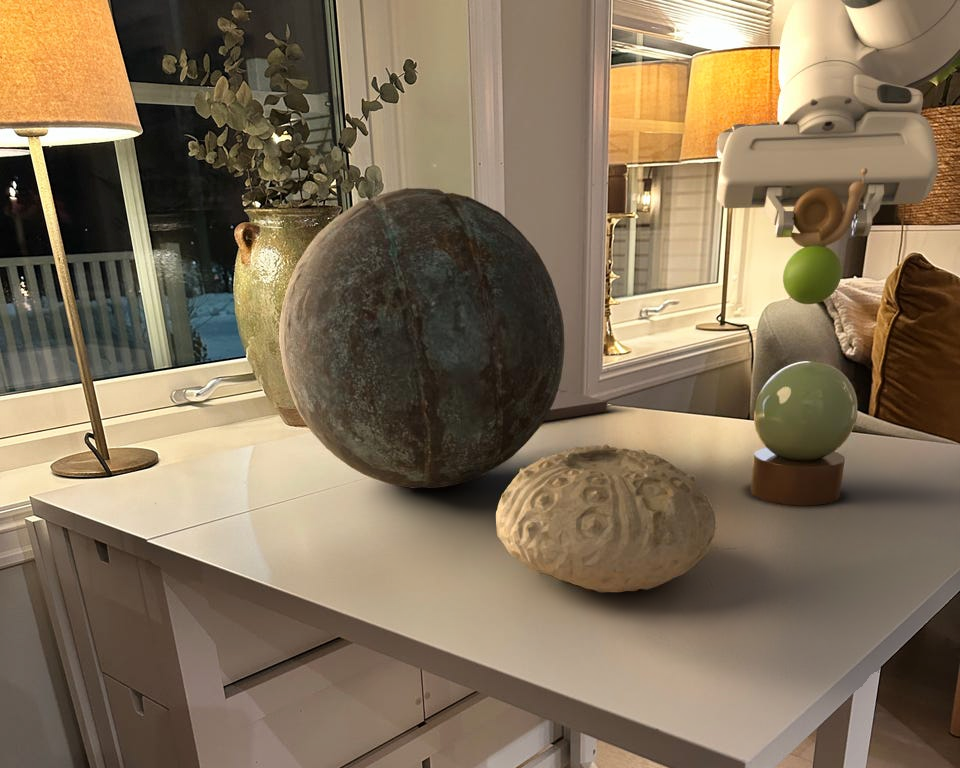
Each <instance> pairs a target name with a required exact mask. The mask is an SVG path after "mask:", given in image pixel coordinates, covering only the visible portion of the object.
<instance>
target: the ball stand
mask: <svg viewBox="0 0 960 768" xmlns="http://www.w3.org/2000/svg"><path fill="white" fill-rule="evenodd" d="M858 404H859V403H858V398H857V393H856V390H855V388H854V385H853V384H852V382H851V381H850V380H849V378H848V377H847V375H845V374H844V373H843V371H841V370H839V369H838V368H837V367H835V366H833V365H831V364H828V363H825V362H823V361H822V362H821V361H814V360H806V361H797V362H795V363H791V364H788V365H786V366H784V367H783V368H781V369H779V370H777V371H776V372H775V373H774V374H773V375H771V376H770V377H769V378H768V380H766V382H765V383H764V384H763V386H762V387H761V389H760V390H759V392H758V395H757V397H756V400H755V404H754V409H753V424H754V428H755V431H756V433H757V436H758V438H759V440H760V442H761V443H762V444H763V446H764V447H763V448H760V449H758V450H756V451H754V454H753V463H752V472H751V473H752V474H751V482H750V493H751V495H753V497H756V498H757V499H760V500H764V501H766V502H769V503H770V502H771V503H774V504H780V505H788V506H820V505H826V504H831V503H833V502H835V501H837V500H839V498H840V495H841V490H842V489H841V488H842V482H843V475H844V470H845V464H846V463H845V462H846V457H845V456H844V455H843V454H841V453H839V452H837V450H838V449H840V447H841V446H843V444H845V442H846V441H847V440H848V439H849V437H850V435H851V433H852V432H853V430H854V428H855V425H856V422H857V419H858V409H859V406H858Z"/></svg>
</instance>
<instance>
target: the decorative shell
mask: <svg viewBox="0 0 960 768" xmlns="http://www.w3.org/2000/svg"><path fill="white" fill-rule="evenodd" d="M695 479H696V477H695V475H694V474H692V473H691V474H689V475H688V474H687V473H686V472H684V471H683V470H681V469H680V468H679V467H677V466H675V465H674V464H673V463H672V462H670V461H668V460H666V459H665V458H663V457H661V456H659V455H656V454H653V453H648V452H647V451H646V450H644V449H642V450H640V451H637V450H631V449H628V448H617V447H615V446H610V445H608V444H607V443H606V444H604V445H602V446H600V445H588V446H587V445H586V446H583V447H580V446H575V447H574V448H573V449H570V450H569V449H566V450H563V451H562V452H557V453H555V454H552V455H550V456H541V458H540V459H539V460H537V461H535V462H533V463H531V464H529V465H528V466H526V467H521V468H520V469H519V473H518V474H516V476H515V477H514V478H512V481H511V482H510V484H509V485H508V486H507V487H506V489H505V490H504V492H502V494H501V497H500V499H499V502H498V505H497V510H496V512H495V522H496V523H495V525H496V536H497V537H498V539H500V541H501V542H502V543H503V545H504V547H505V548H506V551H508V553H509V554H510V555H511V556H512V557H513V558H515V559H516V560H518V562H520V563H521V564H524V566H526V567H527V568H530V569H531V570H532V571H534V572H537V573H539V574H542V575H543V574H544V575H549V576H551V577H553V578H555V579H557V580H559V581H564V582H567V583H571V584H572V585H575V586H576V585H577V586H579V587H580V588H583V589H585V590H593V591H596V592H597V593H622V592H623V593H624V592H627V591H628V592H637V591H638V590H640V589H641V590H645V591H647V590H650V589H653V588H656V587H658V586H660V585H663V584H665V583H667V582H669V581H671V580H672V579H675V578H677V577H681V576H682V575H684V574H686V573H687V572H688V571H689V570H691V569H692V568H693V567H694V566H696V564H697V563H698V562H699V561H700V560H701V559H702V558H703V557H704V556H705V555H706V554H707V553H708V551H709V548H710V546H711V545H712V542H713V540H714V538H715V534H716V515H715V511H714V509H713V506H712V503H711V501H710V499H709V496H708V495H706V494H705V493H704V490H703V489H702V488H701V487H700V486H699V485H698V484H697V483H696V480H695Z"/></svg>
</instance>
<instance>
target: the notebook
mask: <svg viewBox="0 0 960 768" xmlns="http://www.w3.org/2000/svg"><path fill="white" fill-rule="evenodd" d="M607 411H608V401H607V400H604V399H599V398H595V397H591V396H588V395H583V394H579V393H575V392H571V391H568V390H564V389H559V388H558V391H557V394H556V397H555V400H554V402H553V405H552V407H551V409H550V410H549V412H548V414H547V416H546V418H545V419H544V421H543V422H547V421H548V422H549V421H555V420H561V419H567V418H575V417H581V416H586V415H593V414H600V413H605V412H607Z"/></svg>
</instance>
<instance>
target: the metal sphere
mask: <svg viewBox="0 0 960 768" xmlns="http://www.w3.org/2000/svg"><path fill="white" fill-rule="evenodd" d="M557 295H558V294H557V292H556V287H555V285H554V282H553V279H552V277H551V275H550V273H549V271H548V268H547V266H546V265H545V263H544V261H543V259H542V258H541V255H540V254H539V253H538V251H537V249H536V248H535V247H534V246H533V244H532V243H531V242H530V241H529V240H528V238H527V237H526V236H525V235H524V234H523V232H521V231H520V229H518V228H517V227H516V226H515V225H514V224H513V223H512V222H511V221H510V220H509V219H508V218H506V217H505V216H504V215H503V214H502V213H501V212H500V211H498V210H495V209H493V208H492V207H490V206H488V205H486V204H485V203H482V202H480V201H478V200H477V199H475V198H472V197H470V196H467V195H463V194H458V193H454V192H444V191H443V190H440V189H439V188H425V187H424V188H423V187H413V188H411V187H410V188H409V187H406V188H402V189H397V190H392V191H389V192H384V193H381V194H378V195H376V196H373V197H372V198H370V199H366V200H359V201H358V202H356V203H355V204H353V205H352V206H351V207H350V208H348V209H347V210H345V211H343V212H342V213H340V214H339V215H338V216H336V217H335V218H334V219H332V221H331V222H329V223H328V224H327V225H326V226H325V227H324V228H322V229H321V230H320V231H319V232H318V233H317V234H316V235H315V237H314V238H313V239H312V240H311V242H310V243H309V244H308V245H307V247H306V249H305V250H304V252H303V253H302V255H301V257H300V259H299V260H298V262H297V264H296V266H295V267H294V270H293V272H292V275H291V277H290V279H289V281H288V284H287V287H286V291H285V294H284V297H283V302H282V306H281V312H280V319H279V323H278V344H279V350H280V357H281V364H282V368H283V373H284V377H285V378H284V379H285V380H286V384H287V387H288V390H289V392H290V395H291V398H292V401H293V403H294V406H295V408H296V410H297V413H298V414H299V416H300V417H301V419H302V420H303V422H304V424H305V425H306V427H307V428H308V429H309V431H311V433H312V434H313V436H315V438H316V439H318V441H319V442H320V443H321V444H322V445H323V446H324V448H325V449H327V450H328V451H329V452H330V453H331V454H333V455H334V456H335V457H336V458H337V459H339V460H340V461H342V462H343V463H344V464H346V465H347V466H348V467H350V468H351V469H353V470H355V471H357V472H359V473H360V474H362V475H364V476H366V477H368V478H372V479H374V480H377V481H379V482H383V483H386V484H389V485H393V486H398V487H402V488H407V489H416V488H426V489H437V488H444V487H451V486H455V485H458V484H463V483H465V482H469V481H472V480H474V479H477V478H480V477H481V476H484V475H485V474H486V473H489V472H491V471H492V470H494V469H497V468H498V467H500V466H502V464H504V463H506V462H507V461H508V460H510V459H512V458H513V457H514V456H515V455H516V454H517V453H518V452H519V451H520V450H521V449H522V448H523V447H524V446H525V445H526V444H527V443H528V442H529V441H530V440H531V439H532V437H533V436H534V435H535V434H536V433H537V431H538V430H539V428H540V427H541V426H542V424H543V423H544V422H545V421H544V419H545V418H546V416H547V414H548V412H549V410H550V409H551V407H552V405H553V402H554V400H555V397H556V394H557V391H558V389H559V387H560V384H561V380H562V375H563V367H564V361H565V360H564V359H565V358H564V357H565V326H564V318H563V313H562V309H561V306H560V302H559V299H558V296H557Z"/></svg>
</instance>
